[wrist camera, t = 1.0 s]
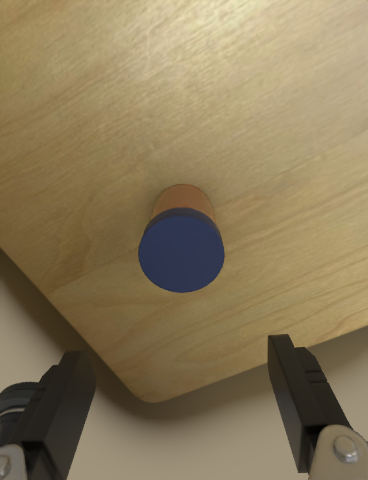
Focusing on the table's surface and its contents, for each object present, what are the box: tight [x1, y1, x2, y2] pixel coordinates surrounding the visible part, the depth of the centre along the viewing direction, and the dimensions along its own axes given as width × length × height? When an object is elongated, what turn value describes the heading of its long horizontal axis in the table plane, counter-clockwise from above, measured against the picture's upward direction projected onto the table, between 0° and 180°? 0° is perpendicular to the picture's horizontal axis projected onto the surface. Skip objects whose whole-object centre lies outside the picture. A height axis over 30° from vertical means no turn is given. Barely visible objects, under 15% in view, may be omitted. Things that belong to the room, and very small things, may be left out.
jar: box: [149, 184, 217, 226], centre depth 24 cm, size 6×6×9 cm
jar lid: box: [138, 207, 224, 293], centre depth 21 cm, size 6×6×2 cm
